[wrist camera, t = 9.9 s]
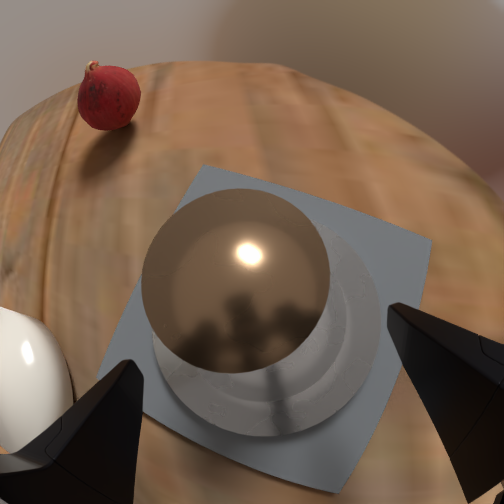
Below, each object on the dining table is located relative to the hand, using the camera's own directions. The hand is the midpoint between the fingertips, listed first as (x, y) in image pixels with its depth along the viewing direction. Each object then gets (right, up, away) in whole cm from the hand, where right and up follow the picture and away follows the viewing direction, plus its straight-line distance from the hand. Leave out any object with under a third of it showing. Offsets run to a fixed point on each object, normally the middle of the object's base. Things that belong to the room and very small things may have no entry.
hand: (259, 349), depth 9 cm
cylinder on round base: (0, -1, +6) cm, 6 cm away
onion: (-12, +15, +14) cm, 24 cm away
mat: (0, -1, +6) cm, 6 cm away
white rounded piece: (-17, -7, +6) cm, 20 cm away
